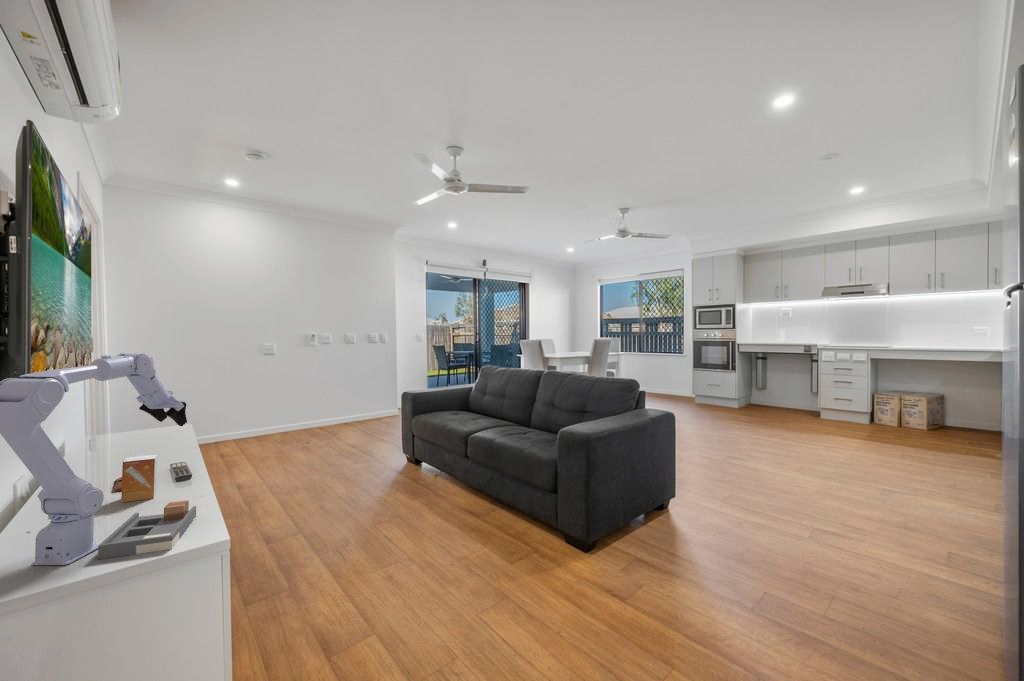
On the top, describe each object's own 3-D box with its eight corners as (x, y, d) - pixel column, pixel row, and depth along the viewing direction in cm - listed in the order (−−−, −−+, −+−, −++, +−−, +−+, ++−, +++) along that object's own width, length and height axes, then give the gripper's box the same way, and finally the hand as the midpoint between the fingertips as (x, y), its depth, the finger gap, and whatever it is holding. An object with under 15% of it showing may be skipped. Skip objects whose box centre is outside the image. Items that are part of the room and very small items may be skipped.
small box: (120, 503, 135) (121, 461, 135) (124, 497, 140) (125, 457, 141) (154, 498, 140) (155, 458, 140) (157, 492, 145) (157, 453, 145)
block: (183, 518, 119) (183, 505, 119) (163, 520, 118) (163, 507, 118) (188, 512, 123) (188, 500, 123) (169, 514, 122) (169, 502, 122)
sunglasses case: (113, 480, 157) (125, 463, 159) (134, 486, 161) (147, 469, 163) (111, 493, 143) (125, 474, 146) (135, 500, 147) (148, 481, 150)
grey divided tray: (172, 549, 106) (172, 535, 106) (97, 559, 100) (98, 545, 100) (196, 517, 125) (196, 506, 125) (135, 524, 120) (135, 512, 120)
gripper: (183, 383, 125) (203, 416, 133) (143, 375, 128) (166, 408, 136) (161, 400, 120) (184, 433, 128) (120, 391, 123) (145, 424, 131)
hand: (173, 421), depth 132 cm, fingers open, 7 cm apart
